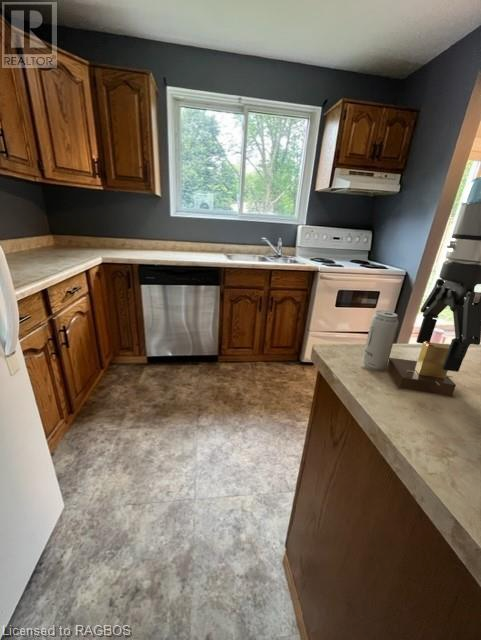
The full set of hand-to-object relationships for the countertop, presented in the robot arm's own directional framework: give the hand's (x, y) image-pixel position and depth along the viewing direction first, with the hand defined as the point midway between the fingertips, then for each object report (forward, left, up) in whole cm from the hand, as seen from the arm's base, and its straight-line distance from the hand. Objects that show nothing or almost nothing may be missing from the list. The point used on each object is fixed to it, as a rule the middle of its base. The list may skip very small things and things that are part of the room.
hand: (434, 355), depth 62 cm
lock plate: (+1, -2, -8) cm, 8 cm away
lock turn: (0, 0, -5) cm, 5 cm away
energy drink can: (+10, -6, -8) cm, 14 cm away
